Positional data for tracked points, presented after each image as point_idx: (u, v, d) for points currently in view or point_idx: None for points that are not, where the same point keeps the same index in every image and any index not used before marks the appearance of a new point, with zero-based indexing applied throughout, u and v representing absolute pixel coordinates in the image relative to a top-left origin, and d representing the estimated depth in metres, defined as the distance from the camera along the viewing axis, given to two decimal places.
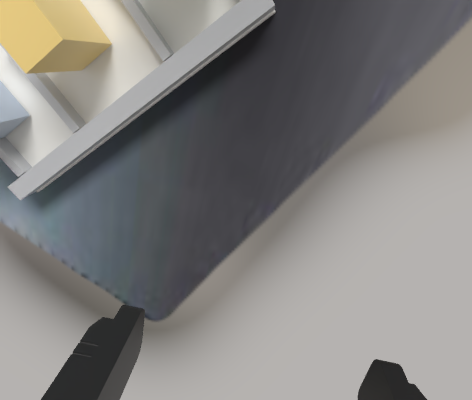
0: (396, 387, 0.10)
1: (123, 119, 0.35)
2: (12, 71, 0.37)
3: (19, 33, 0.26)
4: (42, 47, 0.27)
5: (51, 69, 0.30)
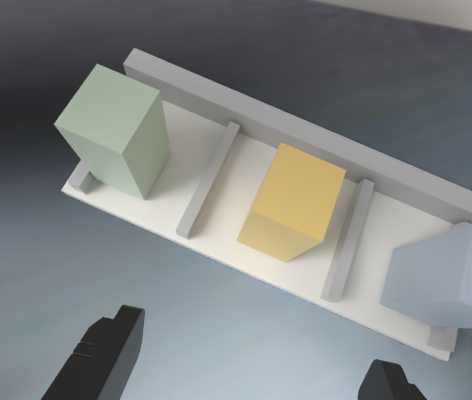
0: (396, 387, 0.10)
1: (321, 128, 0.29)
2: (360, 289, 0.28)
3: (307, 189, 0.21)
4: (304, 160, 0.21)
5: None
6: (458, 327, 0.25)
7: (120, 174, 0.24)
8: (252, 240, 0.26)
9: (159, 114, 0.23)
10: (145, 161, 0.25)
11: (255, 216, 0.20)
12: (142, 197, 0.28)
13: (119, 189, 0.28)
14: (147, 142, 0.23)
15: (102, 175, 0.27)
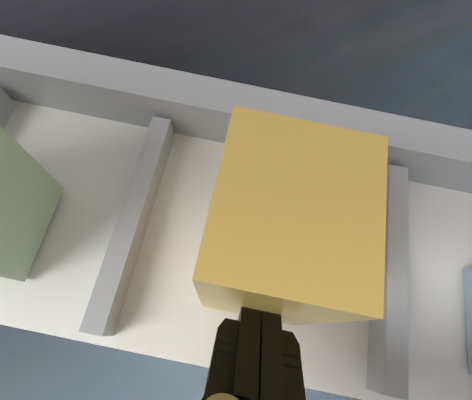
0: (268, 331, 0.11)
1: (303, 97, 0.18)
2: (429, 354, 0.16)
3: (315, 196, 0.09)
4: (293, 133, 0.09)
5: None
6: None
7: None
8: (226, 307, 0.14)
9: None
10: None
11: (208, 286, 0.08)
12: (15, 279, 0.15)
13: None
14: None
15: None
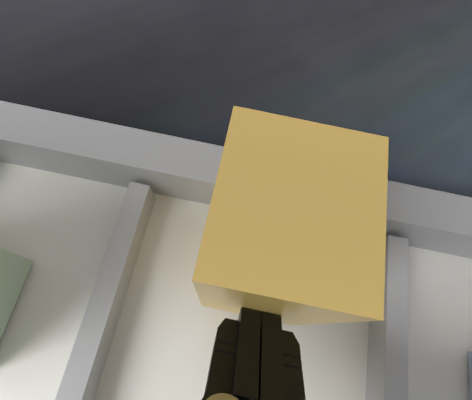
0: (268, 331, 0.11)
1: None
2: None
3: (316, 196, 0.09)
4: (294, 133, 0.09)
5: None
6: None
7: None
8: (226, 307, 0.14)
9: None
10: None
11: (208, 287, 0.08)
12: None
13: None
14: None
15: None
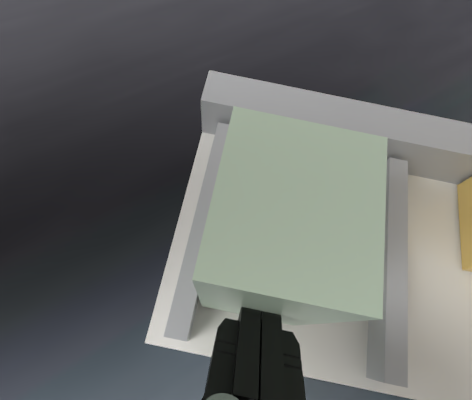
0: (268, 331, 0.11)
1: None
2: None
3: None
4: None
5: None
6: None
7: (292, 316, 0.12)
8: None
9: None
10: None
11: None
12: (295, 324, 0.15)
13: None
14: None
15: (228, 308, 0.14)
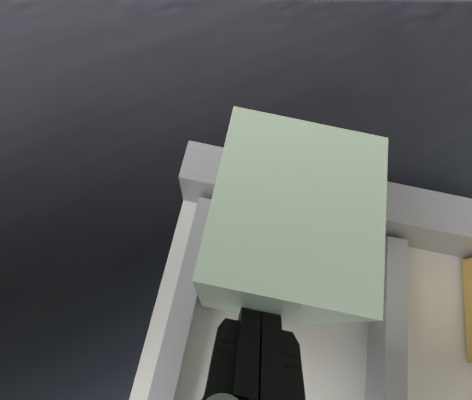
0: (268, 331, 0.11)
1: None
2: None
3: None
4: None
5: None
6: None
7: (291, 317, 0.12)
8: None
9: None
10: None
11: None
12: (295, 324, 0.15)
13: None
14: None
15: (228, 308, 0.14)
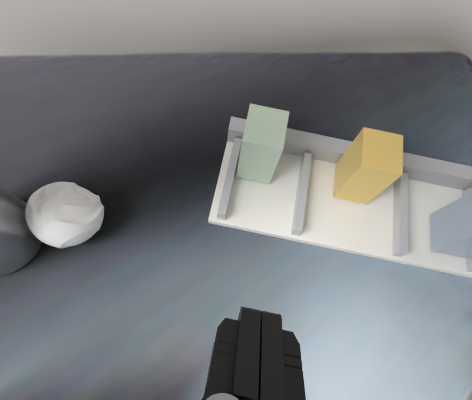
0: (268, 331, 0.11)
1: None
2: (415, 244, 0.43)
3: (386, 149, 0.37)
4: (379, 134, 0.37)
5: None
6: None
7: (266, 166, 0.40)
8: (348, 191, 0.42)
9: None
10: None
11: (361, 169, 0.36)
12: (269, 181, 0.43)
13: None
14: None
15: (246, 171, 0.42)
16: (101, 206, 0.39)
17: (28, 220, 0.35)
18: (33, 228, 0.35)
